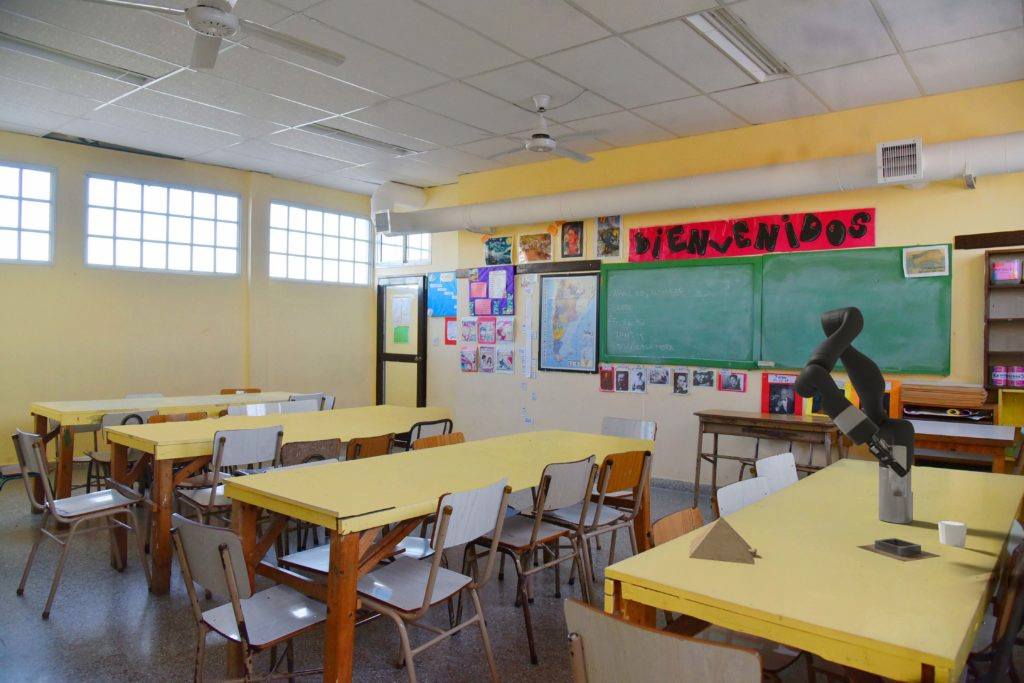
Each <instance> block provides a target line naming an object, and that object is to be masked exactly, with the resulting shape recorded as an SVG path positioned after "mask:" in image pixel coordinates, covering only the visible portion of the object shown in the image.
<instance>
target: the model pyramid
mask: <svg viewBox="0 0 1024 683" xmlns="http://www.w3.org/2000/svg"><path fill="white" fill-rule="evenodd" d="M757 552H758V550H757V548H755V547H754V549H753V548H752V546H750V544H749V543H748V542H746V540H745V539H744V538H743V537H742V536H741V535H740V533H738V532H737V531H736V530H735V529H734V528H733V527H732V525H730V524H729V522H728V521H726V519H724V517H722V516H720V517H718V518H717V519H716V520H714V522H713V523H711V524H710V525H709V526H708V527H707V528H705V529H704V530H703V531H702V532H700V533H699V534H698V535H697V536H695V537H694V538H693V539H692V540H690V544H689V552H688V554H689V555H688V558H689V559H699V560H704V561H705V560H706V561H717V562H728V563H737V564H747V565H748V564H749V565H756V564H755V558H757V557H758V556H757V554H758V553H757Z"/></svg>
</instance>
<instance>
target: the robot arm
mask: <svg viewBox="0 0 1024 683" xmlns="http://www.w3.org/2000/svg"><path fill="white" fill-rule="evenodd" d="M864 323H865V321H864V316H863V314H862V312H861V310H860V308H857V307H856V306H846V307H841V308H836V309H832V310H828V311H826V312H823V314H822V315H821V316H820V324H821V328H822V331H823V333H824V335H825V337H826V338H825V339H824V340H823V341H821V343H820V342H819V344H818V345H817V346H816V347H815V349H814V350H813V352H812V354H811V355H810V356H809V359H808V361H807V363H806V365H805V366H804V367H803V369H801V372H800V373H798V375H797V377H796V378H795V380H794V383H793V389H794V392H796V394H797V395H798V396H799V397H801V398H802V399H811V398H814V397H816V396H817V395H818V394H819V393H820V395H821V397H822V399H821V402H820V404H819V408H820V409H821V411H823V413H825V415H826V416H827V417H828V418H829V419H830V420H832V421H833V423H834V424H835V425H836V426H837V427H838V428H839V430H840V431H841V432H842V433H843V434H844V435H845V436H846V437H848V439H849V440H850V441H851V442H852V443H853V444H854V445H855V446H857V447H860V446H862V445H863V444H864V443H865V445H866V446H867V447H868V452H869V453H871V454H872V455H873V456H874V457H875V458H876V459H877V460H878V520H880V521H884V522H887V523H893V524H911V523H912V522H913V521H914V492H913V491H912V464H913V461H914V458H915V442H916V441H915V440H916V431H915V427H914V424H913V423H912V421H910V420H909V419H905V418H897V417H895V418H894V417H889V415H888V414H887V412H886V410H885V408H884V407H885V406H884V405H883V400H884V397H885V392H886V385H887V384H886V381H885V379H884V375H883V373H882V372H881V370H880V367H879V366H878V364H877V363H876V362H875V361H874V360H872V359H871V358H870V357H868V356H867V355H866V354H864V353H863V352H861V351H859V350H858V349H856V348H855V347H854V346H853V345H852V343H853V342H854V340H855V339H856V338H857V337H858V336H859V335H860V334H861V332H862V331H863V329H864V325H865V324H864ZM838 360H840V363H841V364H842V366H843V368H844V370H845V372H846V374H847V377H848V379H849V380H850V383H851V386H852V387H853V390H854V391H855V394H856V395H857V397H858V399H859V402H860V404H861V406H862V408H863V410H864V412H863V411H862V410H861V409H860V408H858V407H857V406H856V405H854V403H852V402H851V400H850V399H848V398H847V397H846V395H844V394H843V393H842V391H841V389H840V387H839V386H838V384H837V383H836V381H835V380H834V378H833V377H832V375H831V372H832V371H833V370H834V368H835V366H836V364H837V362H838ZM890 445H896V446H905V447H906V470H905V469H904V468H903V467H902V466H901V465H900V464H899V463H898V462H897V461H896V459H895V458H894V457H893V456H892V455H891V454H892V453H891V451H890V450H889V446H890ZM890 466H891V468H892V469H893V470H894V471H895V472H896V473H897V474H898V475H899V476H900V477H901V478H902V477H904V476H905V475H906V497H897V496H891V495H889V467H890Z"/></svg>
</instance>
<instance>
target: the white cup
mask: <svg viewBox="0 0 1024 683" xmlns="http://www.w3.org/2000/svg"><path fill="white" fill-rule="evenodd" d="M937 523H938V525H937V526H938V534H939V543H940V544H942V545H945V546H950V547H955V548H960V549H964V550H965V549H966V538H967V532H968V531H967V530H968V524H966V523H964V522H961V521H955V520H947V519H946V520H945V519H942V520H938V522H937Z"/></svg>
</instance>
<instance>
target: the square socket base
mask: <svg viewBox="0 0 1024 683" xmlns="http://www.w3.org/2000/svg"><path fill="white" fill-rule="evenodd" d="M856 548H859V549H862V550H866V551H869V552H872V553H874V554H878V555H882V556H883V557H887V558H892V559H894V560H897V561H901V562H903V563H905V562H912V561H917V560H924V559H925V560H926V559H930V558H931V559H932V558H938V557H939V558H940V555H939V554H936V553H932V552H929V551H925V550H922V544H918V543H915V542H911V541H908V540H907V541H906V540H904V539H901V538H900V539H899V538H898V537H897V538H896V537H893V538H892V537H891V538H884V539H876V540H874V543H873V544H866V545H860V546H856Z"/></svg>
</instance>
